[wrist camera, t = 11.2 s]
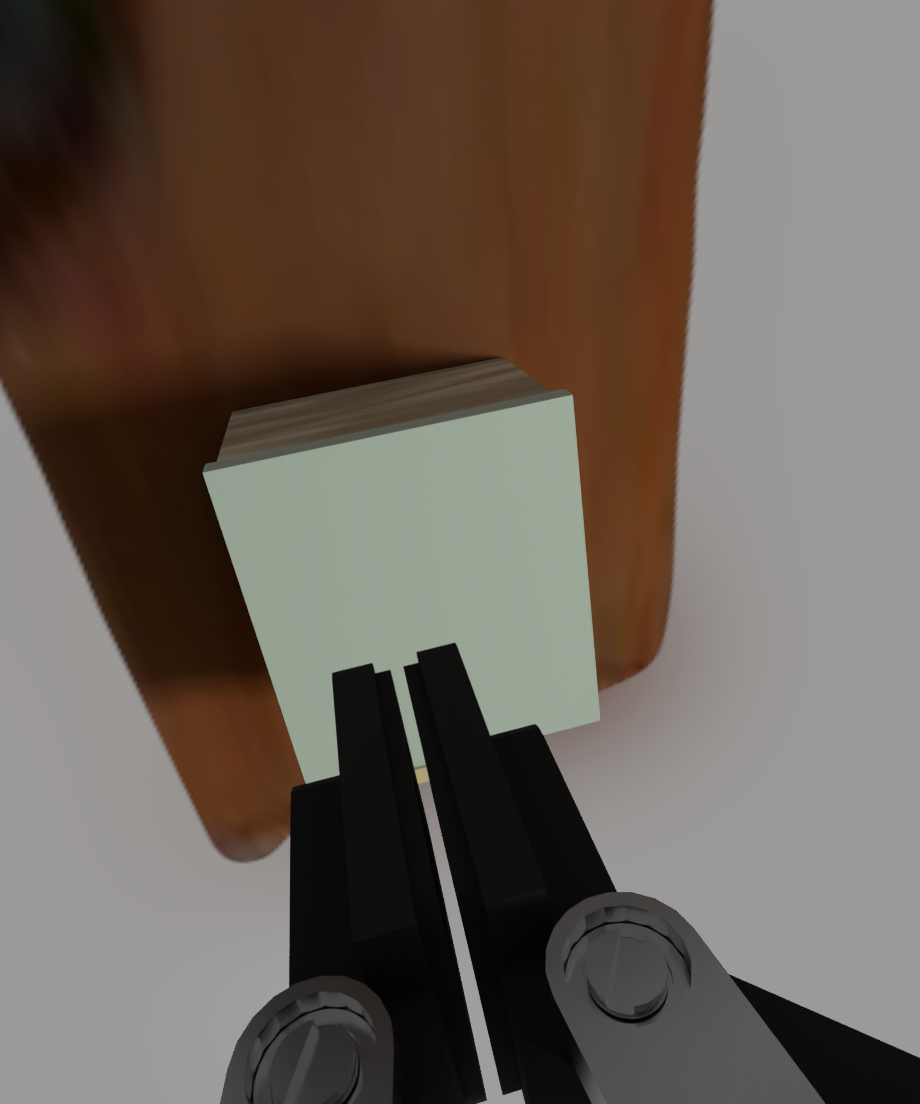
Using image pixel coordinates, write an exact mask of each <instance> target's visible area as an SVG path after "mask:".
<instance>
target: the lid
mask: <svg viewBox="0 0 920 1104" xmlns="http://www.w3.org/2000/svg"><path fill="white" fill-rule="evenodd" d="M203 476H204V479H205V482H206V485H207V488H208V491H209V494H210V497H211V500H212V503H213V506H214V509H215V512H216V515H217V518H218V521H219V524H220V527H221V530H222V533H223V536H224V539H225V542H226V545H227V548H228V551H229V554H230V557H231V560H232V563H233V566H234V569H235V572H236V575H237V578H238V581H239V584H240V587H241V590H242V593H243V596H244V599H245V602H246V605H247V608H248V611H249V614H250V617H251V620H252V623H253V626H254V629H255V632H256V635H257V638H258V641H259V644H260V647H261V650H262V653H263V656H264V659H265V662H266V665H267V668H268V671H269V674H270V677H271V680H272V683H273V686H274V689H275V692H276V695H277V698H278V701H279V704H280V707H281V710H282V713H283V716H284V719H285V722H286V725H287V728H288V732H289V735H290V738H291V741H292V744H293V747H294V750H295V753H296V756H297V759H298V762H299V765H300V768H301V771H302V774H303V777H304V780H305V783H306V784H307V783H311V782H315V781H319V780H322V779H326V778H330V777H334V776H338V775H339V762H338V749H337V737H336V724H335V711H334V698H333V685H332V673H333V672H337V671H341V670H345V669H349V668H353V667H357V666H361V665H365V664H369V663H372V664H373V666H374V670H375V673H378V672H383V671H387V670H391V674H392V678H393V682H394V686H395V690H396V694H397V699H398V703H399V707H400V711H401V715H402V719H403V724H404V728H405V732H406V736H407V740H408V744H409V749H410V753H411V757H412V761H413V765H414V769H415V773H416V778H417V782H418V784H419V783H423V782H427V781H429V776H428V772H427V768H426V763H425V759H424V755H423V750H422V746H421V742H420V737H419V733H418V729H417V724H416V720H415V716H414V711H413V707H412V703H411V698H410V694H409V690H408V685H407V681H406V676H405V672H404V668H403V666H407V665H411V664H415V663H418V659H417V653H416V652H418V651H422V650H426V649H431V648H435V647H439V646H443V645H447V644H451V643H456V645H457V647H458V650H459V652H460V655H461V658H462V660H463V663H464V666H465V669H466V671H467V674H468V677H469V679H470V682H471V685H472V687H473V690H474V693H475V696H476V698H477V701H478V704H479V706H480V709H481V712H482V715H483V717H484V720H485V723H486V725H487V728H488V731H489V734H490V736H491V735H495V734H498V733H502V732H506V731H510V730H514V729H518V728H521V727H525V726H529V725H533V724H536V725H537V726H538V727H539V728H540V730H541V732H542V734H543V735H546V734H550V733H554V732H558V731H561V730H565V729H569V728H572V727H576V726H581V725H584V724H588V723H592V722H595V721H600V711H599V699H598V687H597V675H596V664H595V652H594V640H593V628H592V617H591V605H590V593H589V581H588V570H587V558H586V546H585V534H584V523H583V511H582V499H581V487H580V476H579V464H578V452H577V440H576V429H575V417H574V405H573V395H572V394H571V393H569V392H568V391H566V390H565V389H561V390H557V391H552V392H547V393H542V394H537V395H533V396H528V397H523V398H518V399H514V400H509V401H504V402H499V403H494V404H490V405H485V406H480V407H475V408H470V409H466V410H461V411H456V412H451V413H447V414H442V415H437V416H432V417H427V418H423V419H418V420H413V421H408V422H404V423H399V424H394V425H389V426H384V427H380V428H375V429H370V430H365V431H360V432H356V433H351V434H346V435H341V436H337V437H332V438H327V439H322V440H317V441H313V442H308V443H303V444H298V445H294V446H289V447H284V448H279V449H274V450H270V451H265V452H260V453H255V454H250V455H246V456H241V457H236V458H231V459H227V460H222V461H217V462H212V463H207V464H205V467H204V470H203Z"/></svg>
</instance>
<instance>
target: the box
mask: <svg viewBox="0 0 920 1104" xmlns="http://www.w3.org/2000/svg"><path fill="white" fill-rule="evenodd" d="M547 392H551V391H550V390H549V389H547V388H546V387H545V386H543V385H542V384H540V383H539V382H538V381H536V380H535V379H533V378H532V377H531V376H529V375H528V374H526V373H525V372H524V371H522V370H521V369H519V368H518V367H517V366H515V365H514V364H512V363H511V362H510V361H508V360H507V359H505V358H504V357H500V358H495V359H490V360H485V361H481V362H476V363H471V364H466V365H461V366H456V367H451V368H446V369H441V370H436V371H431V372H426V373H421V374H416V375H411V376H406V377H401V378H396V379H391V380H386V381H382V382H377V383H372V384H367V385H362V386H357V387H352V388H347V389H342V390H337V391H332V392H327V393H322V394H317V395H312V396H307V397H302V398H297V399H292V400H287V401H283V402H278V403H273V404H268V405H263V406H258V407H253V408H248V409H243V410H238V411H233V412H232V414H231V417H230V420H229V423H228V426H227V430H226V433H225V436H224V439H223V443H222V446H221V449H220V452H219V456H218V459H217V461H222V460H227V459H231V458H236V457H241V456H246V455H250V454H255V453H260V452H265V451H270V450H274V449H279V448H284V447H289V446H294V445H298V444H303V443H308V442H313V441H317V440H322V439H327V438H332V437H337V436H341V435H346V434H351V433H356V432H360V431H365V430H370V429H375V428H380V427H384V426H389V425H394V424H399V423H404V422H408V421H413V420H418V419H423V418H427V417H432V416H437V415H442V414H447V413H451V412H456V411H461V410H466V409H470V408H475V407H480V406H485V405H490V404H494V403H499V402H504V401H509V400H514V399H518V398H523V397H528V396H533V395H537V394H542V393H547Z"/></svg>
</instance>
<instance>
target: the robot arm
mask: <svg viewBox="0 0 920 1104" xmlns="http://www.w3.org/2000/svg"><path fill="white" fill-rule="evenodd" d="M416 653H417V659H418V663H415V664H411V665H407V666H403V668H404V672H405V676H406V681H407V685H408V690H409V694H410V698H411V703H412V707H413V711H414V716H415V720H416V724H417V729H418V733H419V737H420V742H421V746H422V750H423V755H424V759H425V763H426V768H427V772H428V776H429V781H430V785H431V790H432V794H433V798H434V803H435V807H436V811H437V816H438V820H439V824H440V829H441V833H442V837H443V841H444V846H445V850H446V854H447V859H448V863H449V867H450V871H451V875H452V880H453V884H454V888H455V892H456V897H457V901H458V905H459V909H460V914H461V918H462V922H463V927H464V931H465V935H466V940H467V944H468V948H469V953H470V957H471V961H472V965H473V970H474V974H475V978H476V982H477V987H478V991H479V995H480V1000H481V1004H482V1008H483V1012H484V1017H485V1021H486V1025H487V1029H488V1034H489V1038H490V1042H491V1047H492V1051H493V1055H494V1060H495V1063H496V1068H497V1072H498V1076H499V1081H500V1085H501V1089H502V1094H503V1095H505V1094H508V1093H511V1092H514V1091H518V1090H521V1089H522V1092H523V1096H524V1100H525V1104H920V1058H919V1057H916V1056H914V1055H912V1054H910V1053H907V1052H905V1051H903V1050H900V1049H898V1048H896V1047H894V1046H891V1045H889V1044H887V1043H884V1042H882V1041H880V1040H878V1039H875V1038H873V1037H871V1036H869V1035H866V1034H864V1033H862V1032H859V1031H857V1030H855V1029H852V1028H850V1027H848V1026H846V1025H843V1024H841V1023H839V1022H836V1021H834V1020H832V1019H830V1018H827V1017H825V1016H823V1015H820V1014H818V1013H816V1012H814V1011H811V1010H809V1009H807V1008H805V1007H802V1006H800V1005H798V1004H796V1003H793V1002H791V1001H789V1000H786V999H784V998H782V997H780V996H777V995H775V994H773V993H770V992H768V991H766V990H764V989H761V988H759V987H757V986H754V985H752V984H750V983H748V982H745V981H743V980H741V979H739V978H736V977H734V976H732V975H729V974H728V973H727V972H726V970H725V969H724V968H723V966H722V965H721V964H720V962H719V961H718V960H717V958H716V957H715V956H714V955H713V953H712V952H711V951H710V949H709V948H708V946H707V945H706V944H705V943H704V941H703V940H702V938H701V937H700V936H699V935H698V933H697V932H696V931H695V929H694V928H693V927H692V926H691V925H690V924H689V923H688V922H687V921H686V920H685V919H684V918H683V917H682V916H681V915H680V914H679V913H678V912H677V911H676V910H674V909H672V908H671V907H669V906H667V905H665V904H664V903H662V902H660V901H658V900H656V899H655V898H651V897H647V896H643V895H640V894H636V893H632V892H617V891H616V889H615V887H614V885H613V883H612V881H611V878H610V876H609V875H608V872H607V870H606V868H605V866H604V864H603V861H602V859H601V857H600V855H599V853H598V851H597V849H596V847H595V844H594V842H593V840H592V838H591V836H590V834H589V832H588V829H587V827H586V825H585V823H584V821H583V819H582V817H581V815H580V812H579V810H578V808H577V806H576V804H575V802H574V800H573V798H572V795H571V793H570V791H569V789H568V787H567V785H566V783H565V781H564V779H563V776H562V774H561V772H560V770H559V768H558V766H557V763H556V761H555V759H554V757H553V755H552V753H551V751H550V749H549V746H548V744H547V742H546V740H545V738H544V736H543V734H542V732H541V730H540V728H539V727H538V726H537V725H536V724H533V725H529V726H525V727H521V728H518V729H514V730H510V731H506V732H502V733H498V734H495V735H491V736H490V734H489V731H488V728H487V725H486V723H485V720H484V717H483V715H482V712H481V709H480V706H479V704H478V701H477V698H476V696H475V693H474V690H473V687H472V685H471V682H470V679H469V677H468V674H467V671H466V669H465V666H464V663H463V660H462V658H461V655H460V652H459V650H458V647H457V645H456V643H451V644H447V645H443V646H439V647H435V648H431V649H426V650H422V651H418V652H416ZM332 685H333V698H334V711H335V724H336V737H337V749H338V762H339V775H338V776H334V777H330V778H326V779H322V780H319V781H315V782H311V783H307V784H303V785H299V786H296V787H293V789H292V792H291V826H290V957H289V959H290V960H289V962H290V963H289V988H288V989H286V990H284V991H283V992H281V993H279V994H278V995H276V996H274V997H273V998H272V999H271V1000H270V1001H269V1002H268V1003H267V1004H266V1005H265V1006H264V1007H263V1008H262V1009H261V1010H260V1011H259V1012H258V1013H257V1014H256V1015H255V1016H254V1017H253V1018H252V1020H251V1021H250V1023H249V1024H248V1026H247V1027H246V1029H245V1030H244V1032H243V1033H242V1035H241V1037H240V1038H239V1040H238V1041H237V1044H236V1046H235V1049H234V1052H233V1055H232V1058H231V1061H230V1063H229V1067H228V1069H227V1074H226V1078H225V1083H224V1088H223V1093H222V1097H221V1102H220V1104H477V1103H480V1102H483V1101H486V1100H487V1099H486V1093H485V1089H484V1084H483V1079H482V1074H481V1070H480V1065H479V1060H478V1056H477V1051H476V1047H475V1042H474V1037H473V1033H472V1028H471V1023H470V1019H469V1014H468V1009H467V1005H466V1000H465V995H464V991H463V987H462V981H461V977H460V972H459V968H458V963H457V958H456V953H455V949H454V944H453V939H452V935H451V930H450V926H449V921H448V917H447V912H446V907H445V902H444V898H443V893H442V889H441V884H440V879H439V874H438V870H437V866H436V861H435V856H434V851H433V846H432V842H431V837H430V833H429V828H428V824H427V820H426V815H425V811H424V807H423V803H422V799H421V795H420V790H419V786H418V782H417V778H416V774H415V769H414V765H413V761H412V757H411V753H410V749H409V744H408V740H407V736H406V732H405V728H404V724H403V719H402V715H401V711H400V707H399V703H398V699H397V694H396V690H395V686H394V682H393V678H392V674H391V670H387V671H383V672H378V673H375V670H374V666H373V664H372V663H369V664H365V665H361V666H357V667H353V668H349V669H345V670H341V671H337V672H333V673H332Z"/></svg>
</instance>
